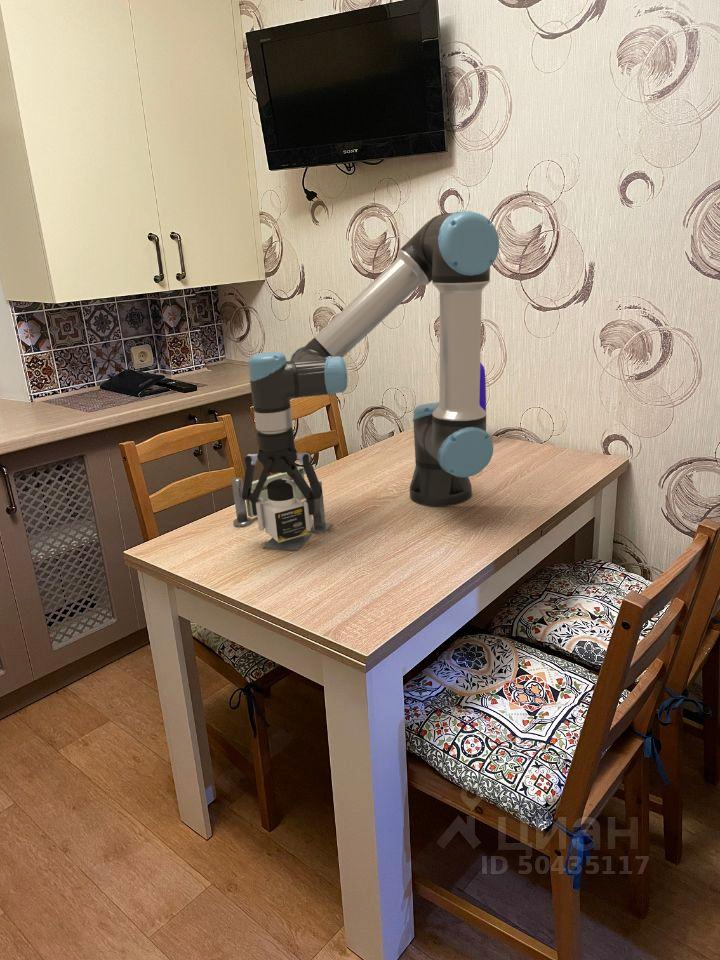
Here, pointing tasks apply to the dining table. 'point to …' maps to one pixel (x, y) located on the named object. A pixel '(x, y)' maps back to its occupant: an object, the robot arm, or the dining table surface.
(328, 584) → the dining table surface
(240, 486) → the hinge post
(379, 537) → the dining table surface
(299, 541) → the mat
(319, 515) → the post
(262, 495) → the gate
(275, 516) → the medicine bottle
